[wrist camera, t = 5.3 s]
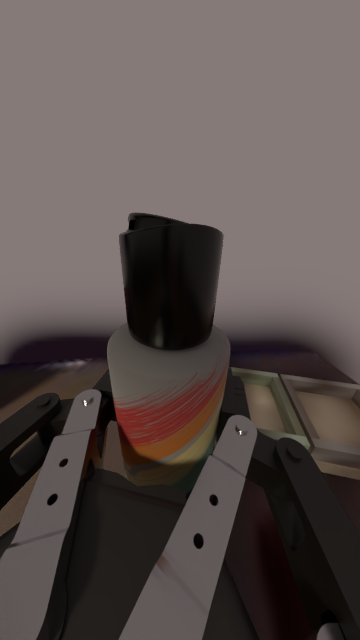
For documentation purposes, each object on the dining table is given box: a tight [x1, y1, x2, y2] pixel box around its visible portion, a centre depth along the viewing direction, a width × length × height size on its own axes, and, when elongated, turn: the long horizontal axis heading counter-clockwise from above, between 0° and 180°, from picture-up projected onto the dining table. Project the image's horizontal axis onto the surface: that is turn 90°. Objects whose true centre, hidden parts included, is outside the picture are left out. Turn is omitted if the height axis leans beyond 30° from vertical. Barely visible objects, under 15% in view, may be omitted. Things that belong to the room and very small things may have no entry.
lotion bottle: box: [107, 213, 230, 499], centre depth 11 cm, size 6×6×20 cm
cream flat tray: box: [214, 367, 360, 480], centre depth 21 cm, size 20×10×3 cm, turn 80°
